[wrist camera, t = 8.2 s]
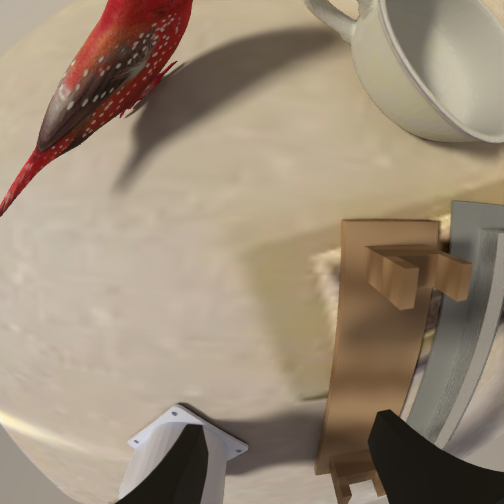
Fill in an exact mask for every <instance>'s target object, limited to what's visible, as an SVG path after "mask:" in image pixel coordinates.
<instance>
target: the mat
mask: <svg viewBox="0 0 504 504" xmlns="http://www.w3.org/2000/svg"><path fill="white" fill-rule="evenodd" d="M481 229H498V230H502V231H504V206H503V205H494V204H485V203H474V202H463V201H451V228H450V242H449V253H448V254H451V255H453V256H456V257H458V258H461V259H463V260H465V261H468V262H470V263H473V267H472V274H471V280H470V286H469V292H468V297H467V300H463V301H456V300H454V299H452V298H451V297H449V296H448V295H446V294H444V293H443V297H442V302H441V308H440V313H439V317H438V322H437V327H436V331H435V335H434V339H433V343H432V347H431V351H430V354H429V358H428V361H427V365H426V368H425V371H424V375H423V378H422V381H421V384H420V387H419V390H418V393H417V395H416V398H415V401H414V404H413V406H412V409H411V411H410V414H409V417H408V419H407V421H406V423H407V424H408V425H409V426H410V427H412V428H413V429H414V430H415V431H416V432H418V433H419V434H420V435H422V436H423V437H424V435H425V433H426V431H427V429H428V427H429V424H430V422H431V420H432V418H433V416H434V414H435V411H436V409H437V407H438V405H439V402H440V400H441V397H442V395H443V393H444V390H445V387H446V385H447V382H448V379H449V377H450V374H451V371H452V368H453V365H454V362H455V359H456V356H457V353H458V350H459V346H460V343H461V339H462V336H463V332H464V328H465V324H466V320H467V316H468V312H469V307H470V303H471V298H472V293H473V287H474V281H475V275H476V268H477V261H478V253H479V243H480V232H481ZM503 306H504V297H503V302H502V306H501V310H500V314H499V318H498V322H497V325H496V329H495V332H494V336H493V339H492V342H491V345H490V348H489V351H488V354H487V357H486V360H485V362H484V365H483V368H482V370H481V373H480V376H479V378H478V380H477V383H476V385H475V388H474V390H473V392H472V394H471V397H470V399H469V401H468V403H467V405H466V407H465V409H464V411H463V413H462V415H461V417H460V419H459V421H458V423H457V425H456V427H455V429H454V431H453V432H452V434H451V436H450V438H449V439H448V441H449V440H450V439H451V437H452V435H453V434H454V432H455V430H456V428H457V426H458V425H459V423H460V421H461V419H462V417H463V415H464V413H465V411H466V409H467V407H468V405H469V403H470V401H471V399H472V396H473V394H474V392H475V390H476V387H477V385H478V383H479V380H480V378H481V375H482V373H483V370H484V368H485V365H486V362H487V360H488V357H489V354H490V351H491V348H492V345H493V342H494V339H495V336H496V332H497V329H498V325H499V322H500V318H501V314H502V310H503Z"/></svg>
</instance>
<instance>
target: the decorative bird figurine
mask: <svg viewBox="0 0 504 504" xmlns="http://www.w3.org/2000/svg"><path fill="white" fill-rule="evenodd" d="M192 2H193V0H108V2H107V5H106V7H105V10H104V12H103V14H102V17H101V19H100V20H99V22H98V23H97V25H96V26H95V28H94V29H93V31H92V32H91V34H90V35H89V37H88V38H87V40H86V41H85V43H84V44H83V46H82V47H81V49H80V51H79V52H78V53H77V55H76V56H75V58H74V60H73V61H72V63H71V64H70V66H69V67H68V69H67V71H66V72H65V74H64V75H63V77H62V79H61V81H60V82H59V84H58V86H57V88H56V90H55V93H54V95H53V97H52V99H51V101H50V103H49V106H48V108H47V111H46V114H45V117H44V119H43V123H42V126H41V129H40V132H39V137H38V141H37V145H36V148H35V150H34V151H33V153H32V155H31V156H30V158H29V159H28V161H27V162H26V164H25V165H24V167H23V168H22V170H21V171H20V173H19V174H18V176H17V178H16V179H15V181H14V182H13V184H12V186H11V187H10V189H9V191H8V193H7V194H6V196H5V197H4V200H3V201H2V203H1V205H0V217H1V216H2V215H3V213H4V212H5V211H6V210H7V208H8V207H9V206H10V205H11V204H12V202H13V201H14V200H15V199H16V197H17V196H18V195H19V194H20V193H21V191H22V190H23V189H24V188H25V187H26V185H27V184H28V183H29V182H30V181H31V180H32V178H33V177H34V176H35V175H36V174H37V173H38V172H39V171H40V170H41V169H42V168H43V167H45V166H46V165H47V164H48V163H50V162H51V161H52V160H54V159H56V158H57V157H59V156H60V155H62V154H64V153H66V152H68V151H69V150H71V149H73V148H75V147H77V146H78V145H80V144H81V143H82V142H84V141H85V140H86V139H87V138H88V137H90V136H91V135H92V134H93V133H94V132H95V131H97V130H98V129H99V128H100V127H102V126H103V125H105V124H106V123H107V122H109V121H110V120H112V119H113V118H114V117H116V116H117V115H119V114H120V113H121V114H120V118H121V117H122V115H123V114H124V112H125V110H126V109H131V108H132V107H133V106H134V104H135V103H136V102H137V101H139V100H141V99H142V98H143V97H144V96H145V95H146V94H147V93H148V92H150V91H151V90H152V89H153V88H154V87H156V86H157V85H158V84H159V83H160V81H161V79H162V77H163V76H164V74H165V73H166V72H167V71H168V70H169V69H170V68H171V67H172V66H173V65H174V64H175V63H176V62H177V61H175V62H173V63H171V64H170V65H169V66H168V67H167V68H166V69H165V70H164V71H163V72H162V73H160V71H161V70H162V69H163V67H164V66H165V64H166V63H167V62H168V60H169V59H170V57H171V56H172V54H173V53H174V51H175V50H176V48H177V46H178V45H179V43H180V41H181V38H182V36H183V34H184V32H185V30H186V28H187V25H188V22H189V19H190V15H191V9H192Z"/></svg>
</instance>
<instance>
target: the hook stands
mask: <svg viewBox="0 0 504 504" xmlns="http://www.w3.org/2000/svg"><path fill="white" fill-rule="evenodd" d="M438 226H439V222H436V221H431V220H342V243H341V271H340V289H339V304H338V317H337V328H336V338H335V348H334V356H333V365H332V372H331V380H330V387H329V394H328V400H327V406H326V412H325V418H324V424H323V429H322V434H321V440H320V445H319V449H318V454H317V459H316V463H315V468H314V469H315V475H322V474H329V473H331V476H332V480H333V484H334V489H335V493H336V497H337V501H338V504H348V502H349V500H350V498H351V497H352V494H351V490H350V487H349V484H354V483H358V482H363V481H367V480H371V479H372V481H373V484H374V487H375V490H376V492H377V495H378V497H379V496H383V495H386V493H385V490H384V488H383V485H382V483H381V481H380V478H379V476H378V473H377V471H376V468H375V466H374V464H373V461H372V458H371V454H370V450H369V446H368V442H367V440H368V438H369V435H370V432H371V429H372V426H373V423H374V421H375V417H376V414H377V412H379V411H383V410H388V409H390V410H392V411H393V412H394V413H395V414H396V415H397V416H399V415H400V412H401V409H402V407H403V404H404V401H405V398H406V395H407V392H408V389H409V386H410V383H411V379H412V376H413V373H414V369H415V366H416V362H417V359H418V355H419V351H420V347H421V343H422V339H423V334H424V330H425V325H426V320H427V315H428V310H429V305H430V299H431V293H432V287H435V288H436V289H438V290H440V291H441V292H443V293H444V294H446V295H448V296H449V297H451V298H452V299H454V300H456V301H463V300H467V297H468V292H469V286H470V280H471V274H472V267H473V263H470V262H468V261H465V260H463V259H461V258H458V257H456V256H453V255H451V254H448V253H445V252H443V251H440V250H438V249H437V241H438Z"/></svg>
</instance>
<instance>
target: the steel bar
mask: <svg viewBox="0 0 504 504" xmlns="http://www.w3.org/2000/svg"><path fill="white" fill-rule="evenodd" d="M503 297H504V231H502V230H498V229H481V232H480V243H479V253H478V261H477V268H476V275H475V281H474V287H473V293H472V298H471V303H470V307H469V312H468V316H467V320H466V324H465V328H464V332H463V336H462V339H461V343H460V346H459V350H458V353H457V356H456V359H455V362H454V365H453V368H452V371H451V374H450V377H449V379H448V382H447V385H446V387H445V390H444V393H443V395H442V397H441V400H440V402H439V405H438V407H437V409H436V411H435V414H434V416H433V418H432V420H431V422H430V424H429V427H428V429H427V431H426V433H425V435H424V438H425V439H427V440H428V441H430V442H431V443H433V444H434V445H436V446H437V447H439V448H440V449H443V448H444V446H445V444H446V443H447V441H448V439H449V438H450V436H451V434H452V432H453V431H454V429H455V427H456V425H457V423H458V421H459V419H460V417H461V415H462V413H463V411H464V409H465V407H466V405H467V403H468V401H469V399H470V397H471V394H472V392H473V390H474V388H475V385H476V383H477V380H478V378H479V376H480V373H481V370H482V368H483V365H484V362H485V360H486V357H487V354H488V351H489V348H490V345H491V342H492V339H493V336H494V332H495V329H496V325H497V322H498V318H499V314H500V310H501V306H502V302H503Z"/></svg>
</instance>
